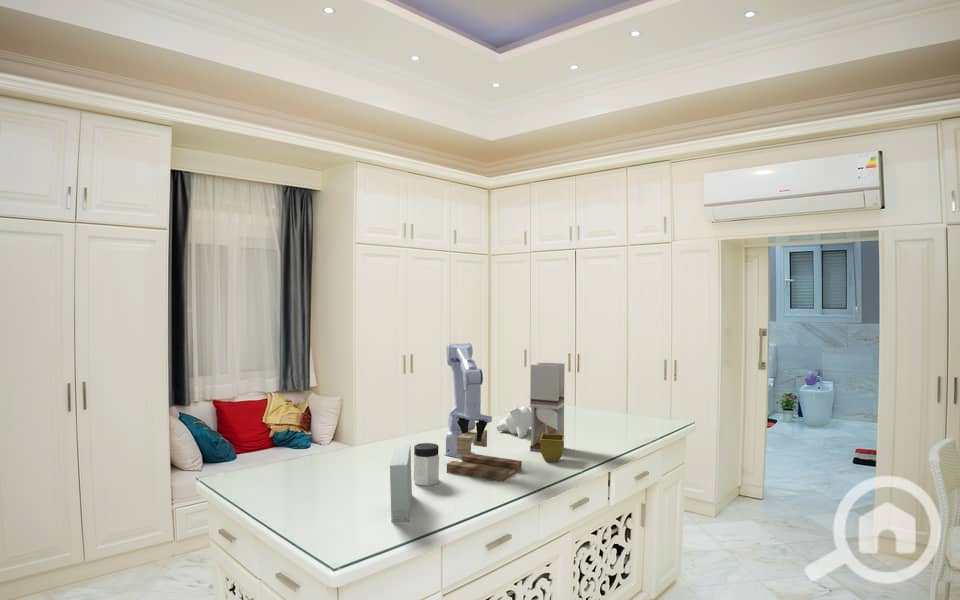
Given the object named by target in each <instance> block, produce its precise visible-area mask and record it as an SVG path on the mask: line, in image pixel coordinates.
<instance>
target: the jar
mask: <svg viewBox="0 0 960 600" xmlns="http://www.w3.org/2000/svg"><path fill="white" fill-rule="evenodd" d="M413 450H414V451H413V482H414V484H415V485H417V486H425V487H428V486H433V485H436V484H439V482H440V481H439V480H440V479H439V476H440V475H439V473H440V472H439V471H440V470H439V469H440V467H439V466H440V462H439V461H440V456H439V445H438V444H436V443H433V442H432V443H431V442H424V443H417V444H415V445H414V449H413Z"/></svg>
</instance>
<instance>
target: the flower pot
mask: <svg viewBox="0 0 960 600" xmlns="http://www.w3.org/2000/svg"><path fill="white" fill-rule="evenodd" d="M563 444H564V445H565V434H564V435H557V434H542V435H541V438H540V445H541V452H540V453H541V456H542V459H543V460H544V461H545V462H552V463H553V462H554V463H559V462H560V460H561V458H562V454H563V449H564V448H563Z"/></svg>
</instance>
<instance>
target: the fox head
mask: <svg viewBox="0 0 960 600" xmlns="http://www.w3.org/2000/svg"><path fill="white" fill-rule="evenodd" d="M518 406H519V405H517V406H515V407H514V408H512V409H511V410H509V413H508V414H507V415H506V417H504V418H502V419H500V420H499V422H498V424H496V425H495V427H496V430H497V431H498V432H502V433H506V432H507V433H508V432H509V433H511V434H514V435H517V436H518V439H522V438H524V437H525V436H527V434H528V431H529V429H531V409H530V408H528V407H527V406H522V407H520V408H518Z"/></svg>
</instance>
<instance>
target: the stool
mask: <svg viewBox="0 0 960 600" xmlns="http://www.w3.org/2000/svg"><path fill="white" fill-rule="evenodd" d="M472 444H473V446H475V447H480V448H481V447H482V448H487V447H488V429H484V432H483V435H482V440H481V441H480V442H477V428H475V429H473V430H471V431H469V432H466V433H464V434H462V435H460V436H457V454H462V455H469V456H470V455H471V452H472Z"/></svg>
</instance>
